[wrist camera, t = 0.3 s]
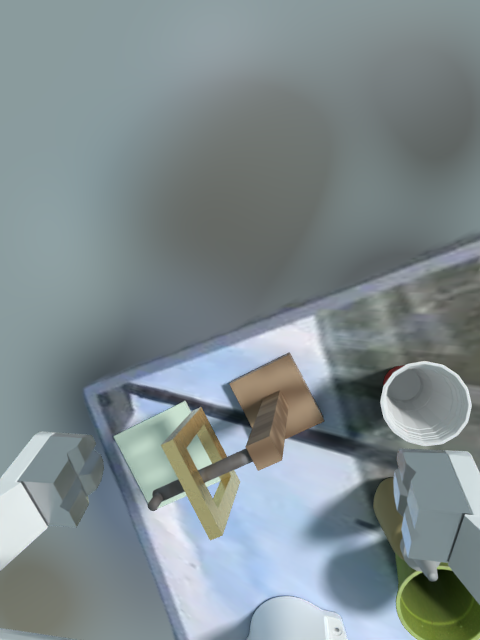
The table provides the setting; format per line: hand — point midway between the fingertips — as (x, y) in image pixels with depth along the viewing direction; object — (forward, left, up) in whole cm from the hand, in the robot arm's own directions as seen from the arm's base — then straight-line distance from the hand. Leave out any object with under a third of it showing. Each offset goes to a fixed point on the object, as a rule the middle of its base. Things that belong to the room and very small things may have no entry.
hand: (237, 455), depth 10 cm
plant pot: (-43, -1, -53) cm, 68 cm away
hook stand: (-11, +13, -52) cm, 55 cm away
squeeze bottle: (-33, -2, -53) cm, 62 cm away
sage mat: (-12, +30, -52) cm, 62 cm away
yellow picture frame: (-11, +17, -42) cm, 46 cm away
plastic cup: (-17, -11, -53) cm, 56 cm away
